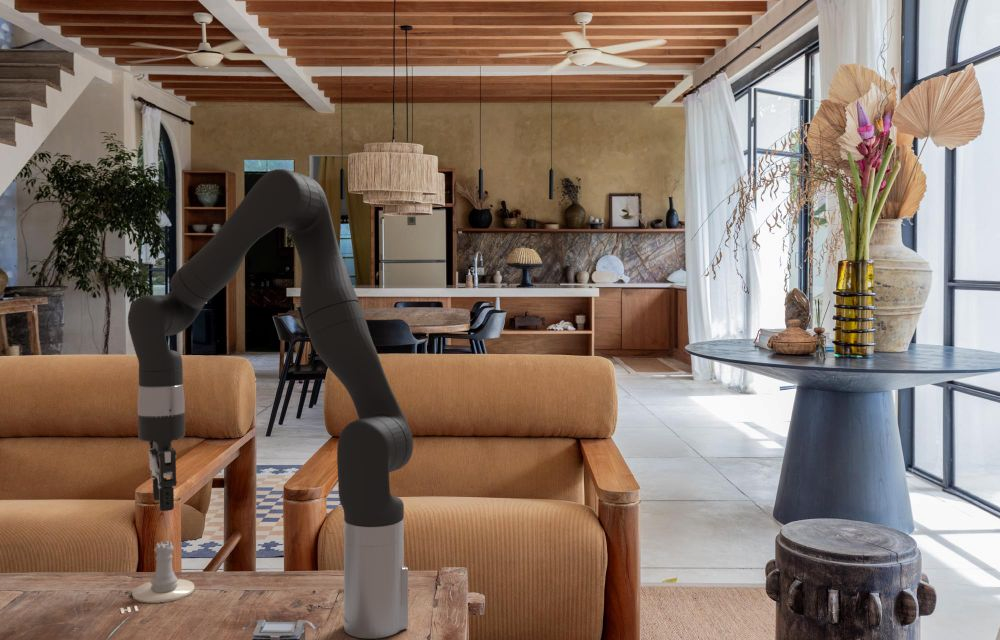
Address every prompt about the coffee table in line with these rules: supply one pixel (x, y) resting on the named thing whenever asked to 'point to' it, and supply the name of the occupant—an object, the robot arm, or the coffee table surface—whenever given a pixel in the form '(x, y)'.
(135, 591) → the cream round disc
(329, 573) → the coffee table surface
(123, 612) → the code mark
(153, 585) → the rook chess piece
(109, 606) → the coffee table surface
